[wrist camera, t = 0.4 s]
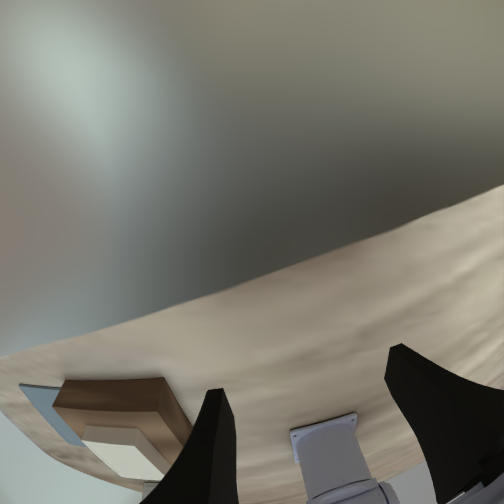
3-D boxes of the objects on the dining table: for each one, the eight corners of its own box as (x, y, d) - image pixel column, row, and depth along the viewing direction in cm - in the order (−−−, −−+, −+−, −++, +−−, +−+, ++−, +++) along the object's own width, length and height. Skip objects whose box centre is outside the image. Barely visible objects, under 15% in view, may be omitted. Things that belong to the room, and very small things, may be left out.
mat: (119, 449, 26) (119, 451, 26) (69, 441, 26) (69, 443, 26) (67, 388, 22) (66, 390, 21) (19, 383, 22) (18, 385, 21)
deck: (205, 447, 26) (205, 474, 22) (120, 446, 26) (114, 469, 22) (163, 377, 22) (157, 411, 18) (65, 380, 21) (51, 406, 18)
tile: (171, 466, 22) (170, 481, 20) (124, 463, 21) (121, 476, 20) (138, 428, 19) (134, 445, 17) (86, 424, 19) (80, 440, 17)
